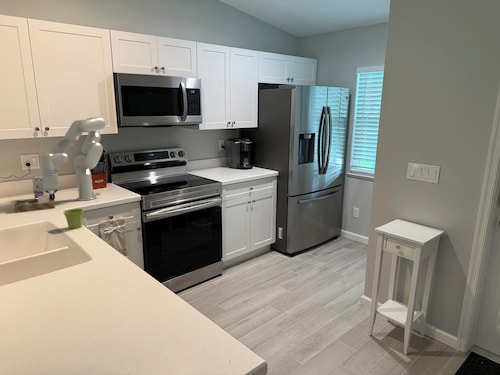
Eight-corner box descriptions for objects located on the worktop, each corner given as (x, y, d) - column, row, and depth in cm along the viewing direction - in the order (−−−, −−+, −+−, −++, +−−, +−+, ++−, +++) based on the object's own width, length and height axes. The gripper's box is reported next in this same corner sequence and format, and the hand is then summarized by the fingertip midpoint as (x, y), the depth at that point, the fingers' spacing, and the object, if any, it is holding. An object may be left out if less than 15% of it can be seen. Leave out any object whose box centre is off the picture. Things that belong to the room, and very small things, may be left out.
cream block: (49, 201, 229) (48, 195, 228) (49, 202, 225) (48, 196, 224) (38, 202, 226) (37, 196, 225) (38, 203, 222) (37, 197, 221)
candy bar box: (50, 199, 251) (47, 176, 248) (43, 200, 247) (40, 177, 244) (41, 197, 256) (38, 176, 253) (34, 199, 252) (31, 177, 249)
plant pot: (61, 228, 175) (59, 211, 174) (80, 223, 183) (78, 207, 181) (70, 231, 170) (68, 214, 168) (89, 226, 177) (87, 210, 176)
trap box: (54, 203, 237) (54, 195, 236) (54, 208, 221) (53, 200, 220) (18, 207, 226) (17, 199, 226) (15, 212, 211) (14, 204, 210)
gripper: (62, 171, 231) (65, 197, 234) (36, 172, 224) (39, 200, 227) (62, 172, 225) (65, 199, 228) (35, 173, 218) (39, 202, 221)
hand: (52, 199), depth 227 cm, fingers closed
